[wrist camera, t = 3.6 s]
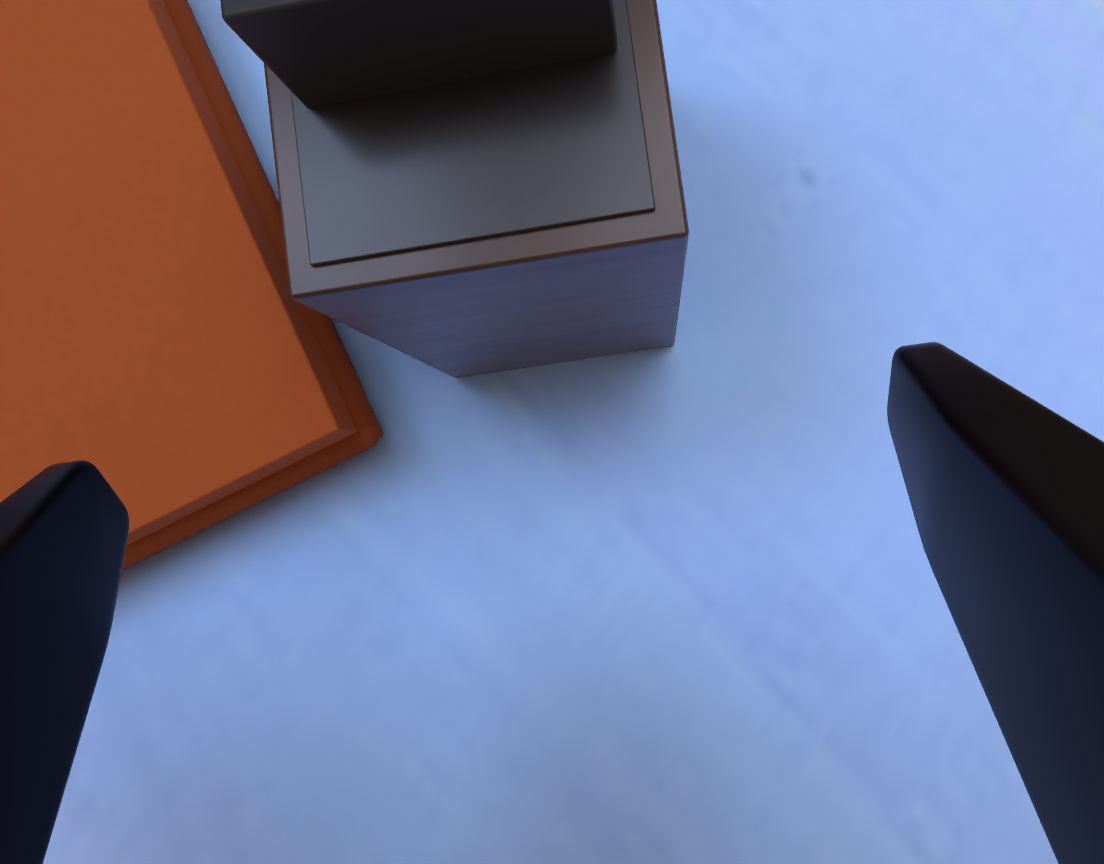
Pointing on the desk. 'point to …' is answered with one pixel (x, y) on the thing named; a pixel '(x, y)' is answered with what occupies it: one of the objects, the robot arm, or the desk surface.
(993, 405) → the robot arm
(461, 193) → the remote caddy
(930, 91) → the desk surface
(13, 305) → the flat square box
